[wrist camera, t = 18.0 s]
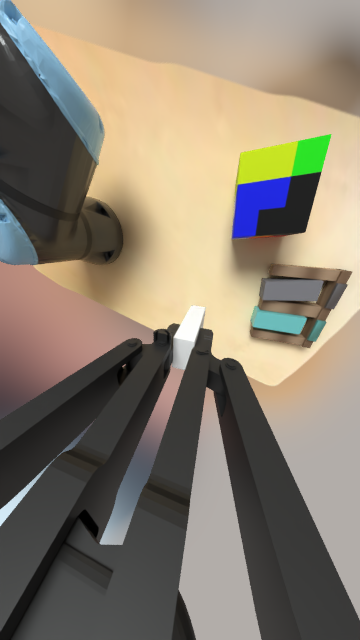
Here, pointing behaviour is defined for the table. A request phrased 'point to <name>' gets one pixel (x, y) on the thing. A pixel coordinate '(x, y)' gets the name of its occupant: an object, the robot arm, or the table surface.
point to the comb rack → (304, 303)
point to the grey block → (290, 289)
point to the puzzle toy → (277, 188)
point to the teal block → (277, 321)
